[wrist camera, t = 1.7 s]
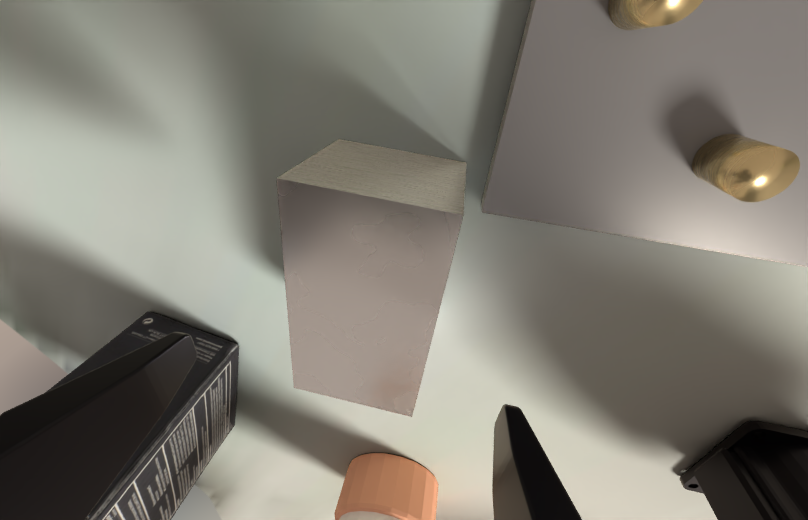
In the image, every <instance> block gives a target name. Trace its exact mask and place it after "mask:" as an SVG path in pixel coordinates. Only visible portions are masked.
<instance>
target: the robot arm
mask: <svg viewBox="0 0 808 520" xmlns="http://www.w3.org/2000/svg"><path fill="white" fill-rule="evenodd" d="M196 358H197V351H196V348H195V345H194V342H193V339H192V337H191V335H189V334H186V333H181V332H173V333H171V334H169V335H166V336H164V337H162V338H160V339H158V340H156V341H154V342H152V343H150V344H147V345H145V346H143V347H141V348H139V349H137V350H135V351H133V352H131V353H128V354H126V355H124V356H122V357H120V358H118V359H116V360H114V361H111V362H109V363H107V364H105V365H103V366H101V367H99V368H97V369H95V370H92V371H90V372H88V373H86V374H84V375H82V376H80V377H78V378H76V379H73V380H71V381H69V382H67V383H65V384H63V385H61V386H59V387H57V388H54V389H52V390H50V391H48V392H46V393H44V394H42V395H40V396H38V397H35V398H33V399H31V400H29V401H27V402H25V403H23V404H21V405H18V406H16V407H14V408H12V409H10V410H8V411H6V412H4V413H2V414H1V415H0V520H85V519H86V518H87V516H88V515H89V513H90V512H91V511H92V509H93V508H94V507H95V505H96V504H97V503H98V501H99V500H100V499H101V497H102V496H103V495H104V493H105V492H106V490H107V489H108V488H109V486H110V485H111V484H112V482H113V481H114V480H115V478H116V477H117V476H118V474H119V473H120V471H121V470H122V469H123V467H124V466H125V465H126V463H127V462H128V461H129V459H130V458H131V457H132V455H133V454H134V453H135V451H136V450H137V448H138V447H139V446H140V444H141V443H142V442H143V440H144V439H145V438H146V436H147V435H148V434H149V432H150V431H151V429H152V428H153V427H154V425H155V424H156V423H157V421H158V420H159V419H160V417H161V416H162V414H163V413H164V412H165V410H166V409H167V407H168V405H169V404H170V402H171V401H172V399H173V397H174V396H175V394H176V392H177V391H178V389H179V388H180V386H181V384H182V383H183V381H184V379H185V378H186V376H187V374H188V373H189V371H190V369H191V368H192V366H193V364H194V363H195V361H196ZM680 481H681V483H682V485H683V487H684V488H685V489H687V490H691V491H695V492H700V493H704V494H705V496H706V498H707V500H708V502H709V504H710V506H711V508H712V509H713V511H714V513H715V515H716V517H717V519H718V520H808V431H803V430H798V429H794V428H789V427H784V426H779V425H775V424H770V423H765V422H760V421H751V422H747V423H745V424H743V425H742V426H740V427H739V428H738V429H737V430H736V431H735V432H733V433H732V434H731V435H730V436H729V437H727V438H726V439H725V440H724V441H723V442H721V443H720V444H719V445H718V446H717V447H715V448H714V449H713V450H712V451H711V452H710V453H708V454H707V455H706V456H705V457H704V458H702V459H701V460H700V461H699V462H698V463H696V464H695V465H694V466H693V467H692V468H690V469H689V470H688V471H687V472H686V473H685V474H683V475H682V476H681V477H680ZM493 508H494V520H582V519H581V517H580V515H579V513H578V512H577V510H576V508H575V506H574V504H573V503H572V501H571V499H570V497H569V495H568V493H567V492H566V490H565V488H564V486H563V484H562V483H561V481H560V479H559V477H558V475H557V474H556V472H555V470H554V468H553V466H552V465H551V463H550V461H549V459H548V457H547V456H546V454H545V452H544V450H543V448H542V447H541V445H540V443H539V441H538V439H537V437H536V436H535V434H534V432H533V430H532V428H531V427H530V425H529V423H528V421H527V419H526V418H525V416H524V414H523V412H522V411H521V409H520V408H519V407H516V406H511V405H507V404H505V405H503V407H502V408H501V411H500V413H499V415H498V417H497V420H496V422H495V428H494V455H493Z"/></svg>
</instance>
